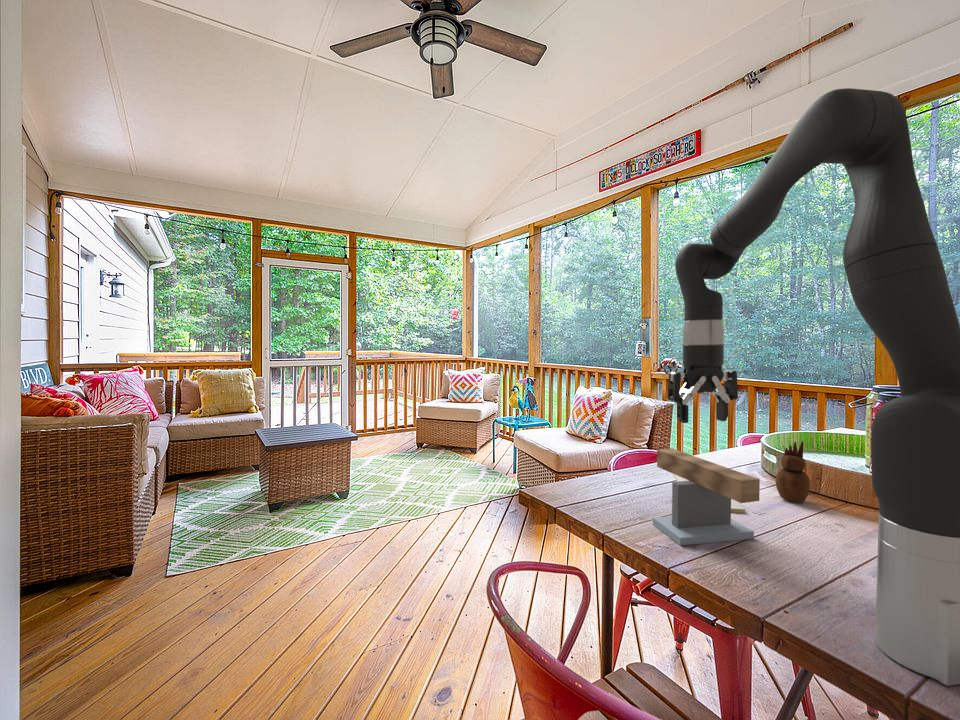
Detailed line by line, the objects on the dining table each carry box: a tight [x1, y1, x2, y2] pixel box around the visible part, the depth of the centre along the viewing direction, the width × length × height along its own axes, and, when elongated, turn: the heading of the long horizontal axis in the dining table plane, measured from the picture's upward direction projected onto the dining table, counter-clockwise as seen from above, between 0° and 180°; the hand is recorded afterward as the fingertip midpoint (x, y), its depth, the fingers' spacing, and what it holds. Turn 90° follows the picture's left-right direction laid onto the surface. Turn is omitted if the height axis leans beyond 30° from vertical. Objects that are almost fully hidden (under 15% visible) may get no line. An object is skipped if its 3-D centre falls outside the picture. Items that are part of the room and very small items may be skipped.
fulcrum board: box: [652, 481, 755, 546], centre depth 93 cm, size 10×16×10 cm, turn 99°
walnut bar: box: [656, 447, 761, 504], centre depth 93 cm, size 24×4×4 cm, turn 14°
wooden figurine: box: [775, 440, 811, 504], centre depth 110 cm, size 7×6×15 cm
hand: (702, 421), depth 92 cm, fingers open, 8 cm apart
